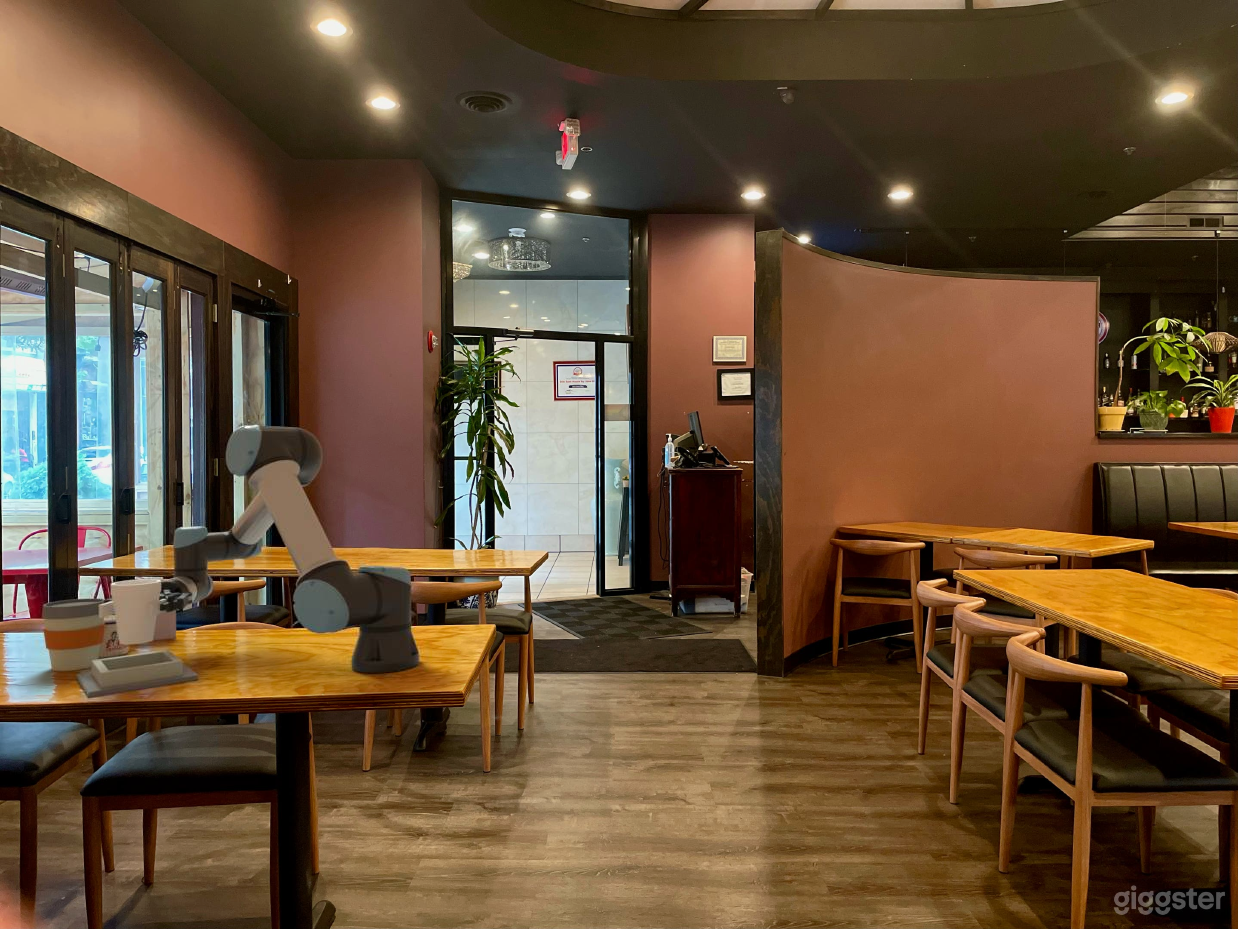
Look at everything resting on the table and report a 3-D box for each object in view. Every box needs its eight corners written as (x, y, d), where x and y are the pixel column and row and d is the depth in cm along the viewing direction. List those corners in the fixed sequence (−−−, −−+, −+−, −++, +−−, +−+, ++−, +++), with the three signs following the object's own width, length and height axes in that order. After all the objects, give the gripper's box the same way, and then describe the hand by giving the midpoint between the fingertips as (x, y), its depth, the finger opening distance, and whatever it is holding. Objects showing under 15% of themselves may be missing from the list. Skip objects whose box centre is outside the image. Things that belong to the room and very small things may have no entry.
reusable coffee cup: (101, 657, 195) (100, 596, 195) (111, 666, 186) (111, 602, 186) (38, 666, 186) (38, 602, 187) (46, 676, 177) (45, 609, 177)
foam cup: (138, 646, 168) (137, 585, 168) (100, 645, 170) (100, 585, 170) (170, 637, 178) (170, 579, 178) (134, 636, 179) (134, 578, 179)
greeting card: (178, 637, 218) (177, 583, 218) (159, 643, 211) (158, 587, 211) (140, 636, 220) (140, 582, 220) (120, 642, 212) (120, 586, 212)
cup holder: (198, 679, 172) (197, 661, 172) (88, 697, 159) (88, 677, 159) (178, 663, 188) (178, 646, 188) (76, 678, 175) (76, 660, 175)
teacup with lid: (109, 659, 193) (109, 611, 193) (77, 658, 194) (77, 610, 194) (147, 648, 205) (146, 603, 205) (116, 647, 206) (116, 602, 206)
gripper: (221, 608, 193) (180, 626, 170) (125, 611, 190) (70, 629, 168) (221, 578, 193) (180, 592, 171) (125, 579, 190) (70, 594, 168)
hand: (125, 610), depth 169 cm, fingers closed on foam cup, 9 cm apart
